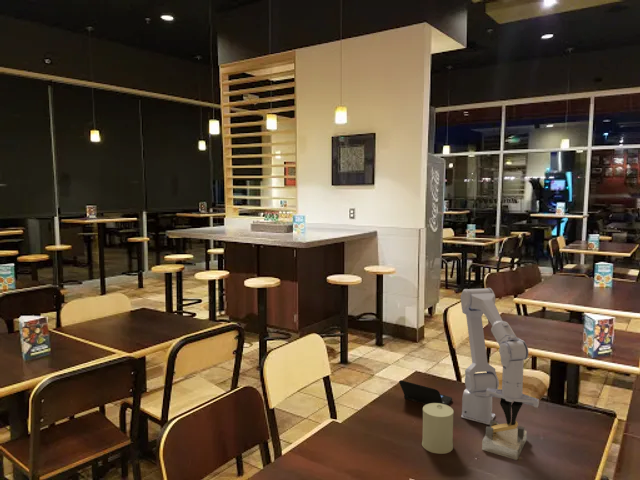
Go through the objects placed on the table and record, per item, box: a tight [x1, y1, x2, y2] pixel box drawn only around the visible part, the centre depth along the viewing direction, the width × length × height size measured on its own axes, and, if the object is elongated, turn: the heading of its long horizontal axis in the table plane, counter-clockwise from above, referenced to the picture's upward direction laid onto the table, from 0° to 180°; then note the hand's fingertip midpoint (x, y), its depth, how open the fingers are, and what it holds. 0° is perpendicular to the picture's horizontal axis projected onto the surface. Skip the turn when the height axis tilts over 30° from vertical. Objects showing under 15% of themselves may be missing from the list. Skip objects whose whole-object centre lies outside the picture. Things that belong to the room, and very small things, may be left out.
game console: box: [398, 380, 453, 406], centre depth 175 cm, size 16×14×9 cm
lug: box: [517, 425, 526, 437], centre depth 146 cm, size 2×2×2 cm
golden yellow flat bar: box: [491, 420, 519, 433], centre depth 146 cm, size 8×3×1 cm, turn 55°
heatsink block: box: [481, 419, 528, 461], centre depth 146 cm, size 10×13×5 cm
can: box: [421, 403, 455, 455], centre depth 146 cm, size 9×9×12 cm
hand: (511, 423), depth 144 cm, fingers closed
